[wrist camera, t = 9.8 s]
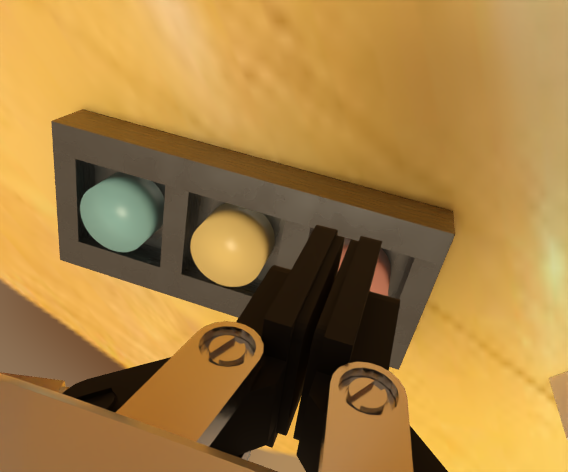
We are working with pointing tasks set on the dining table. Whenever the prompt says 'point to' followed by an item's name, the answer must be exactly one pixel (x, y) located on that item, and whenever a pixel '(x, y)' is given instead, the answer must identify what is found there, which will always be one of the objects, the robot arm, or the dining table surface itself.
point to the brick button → (376, 271)
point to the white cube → (561, 397)
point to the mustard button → (232, 245)
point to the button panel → (244, 193)
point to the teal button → (122, 211)
